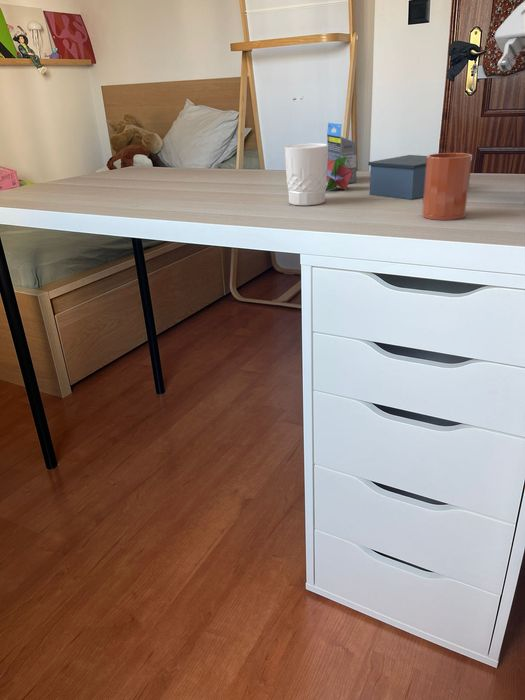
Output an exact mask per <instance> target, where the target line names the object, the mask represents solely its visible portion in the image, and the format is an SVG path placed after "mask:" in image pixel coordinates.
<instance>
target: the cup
mask: <svg viewBox="0 0 525 700" xmlns="http://www.w3.org/2000/svg"><path fill="white" fill-rule="evenodd" d="M426 156H427V157H426V170H425V182H424V195H423V197H422V210H421V216H422V217H423V218H424V219H428V220H433V221H434V220H435V221H454V220H460V219H463V218H465V217H466V212H467V203H468V195H469V187H470V178H471V170H472V160H473V154H472V153H467V152H466V153H465V152H440V153H432V154H428V155H426Z"/></svg>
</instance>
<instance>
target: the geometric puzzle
mask: <svg viewBox="0 0 525 700" xmlns="http://www.w3.org/2000/svg"><path fill="white" fill-rule="evenodd" d="M346 158H347V157H343V158H338V159H335V161H333V160H331V159H329V158H328V162H327V180H326V183H327V184H326V187H325V192H327V191H331V192H332V191H334V192H335V191H336V189H338V190H341V189H342V191H347V189H348V187H349V184H351V183H350V182H349V180H350V178H351V177H352V176H353V175H351V174H352V172H353V170H351V169H348V167H347V166H346V167H347V168H346V167H344V166H345V165H344V164H345V161H346ZM332 159H333V158H332ZM347 159H348V158H347ZM348 163H349V162H348ZM349 164H350V163H349ZM349 166H350V165H349ZM348 183H349V184H348Z"/></svg>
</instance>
